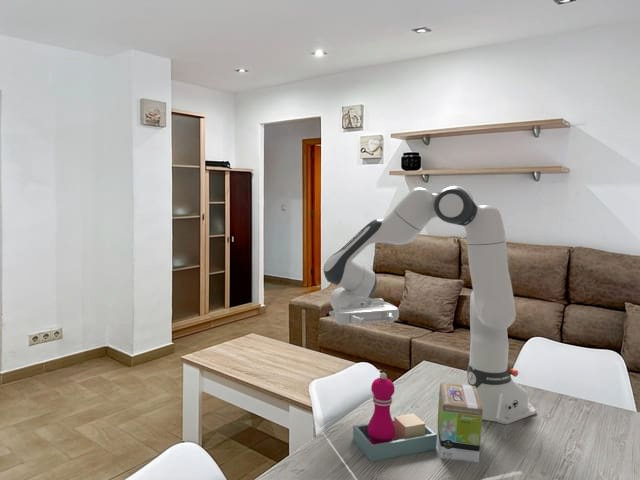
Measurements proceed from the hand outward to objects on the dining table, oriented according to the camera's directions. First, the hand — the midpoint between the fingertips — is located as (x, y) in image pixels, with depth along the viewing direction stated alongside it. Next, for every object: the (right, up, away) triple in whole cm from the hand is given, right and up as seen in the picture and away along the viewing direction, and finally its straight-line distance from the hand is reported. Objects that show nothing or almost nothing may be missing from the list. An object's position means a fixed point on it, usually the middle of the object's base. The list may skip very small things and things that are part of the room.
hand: (377, 321), depth 137 cm
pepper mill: (-1, -31, -12) cm, 33 cm away
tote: (+3, -31, -11) cm, 33 cm away
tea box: (+20, -32, -11) cm, 39 cm away
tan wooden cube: (+7, -31, -9) cm, 33 cm away
